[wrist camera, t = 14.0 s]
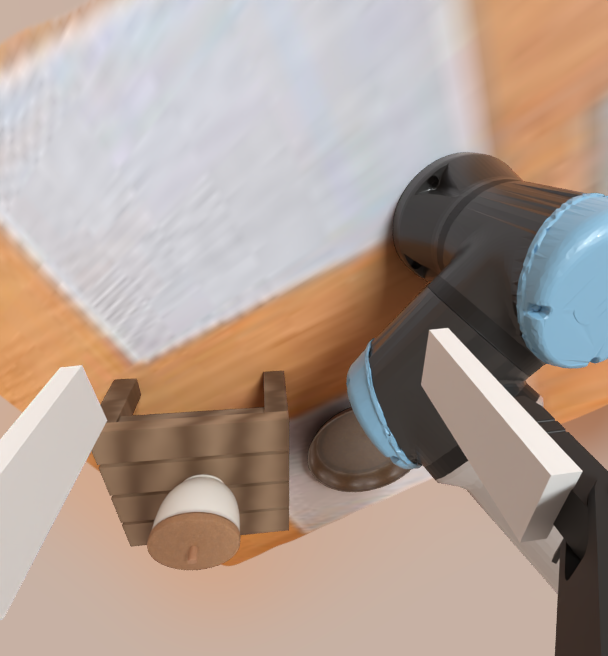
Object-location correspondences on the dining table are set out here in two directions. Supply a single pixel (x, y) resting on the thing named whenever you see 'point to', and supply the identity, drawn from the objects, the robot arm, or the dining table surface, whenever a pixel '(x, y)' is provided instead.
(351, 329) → the dining table surface
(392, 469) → the plant saucer
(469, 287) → the robot arm
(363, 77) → the dining table surface
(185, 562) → the lidded jar
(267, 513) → the walnut rack
